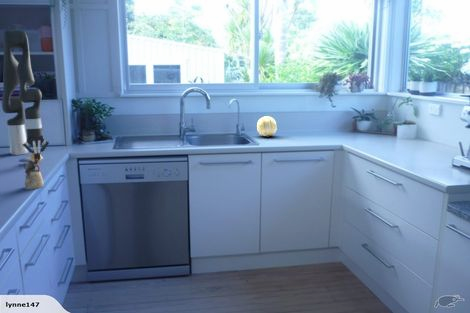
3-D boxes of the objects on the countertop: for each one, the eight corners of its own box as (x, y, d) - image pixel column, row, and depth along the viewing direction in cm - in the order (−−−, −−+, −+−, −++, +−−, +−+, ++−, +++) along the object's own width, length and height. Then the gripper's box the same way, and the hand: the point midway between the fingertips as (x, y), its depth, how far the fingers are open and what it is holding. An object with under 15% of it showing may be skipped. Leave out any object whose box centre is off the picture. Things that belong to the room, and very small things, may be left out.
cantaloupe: (271, 138, 299) (271, 117, 296) (253, 137, 307) (253, 116, 304) (280, 135, 312) (280, 115, 309) (262, 134, 319) (262, 114, 316)
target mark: (15, 159, 233) (15, 159, 233) (36, 156, 243) (36, 155, 243) (27, 162, 227) (27, 162, 226) (48, 158, 236) (48, 158, 236)
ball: (30, 161, 222) (28, 161, 227) (41, 163, 225) (39, 163, 230) (32, 151, 222) (30, 151, 227) (43, 153, 226) (41, 153, 230)
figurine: (29, 184, 183) (26, 157, 180) (46, 184, 183) (43, 157, 181) (22, 189, 176) (19, 161, 173) (39, 189, 176) (36, 161, 174)
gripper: (21, 129, 213) (25, 162, 216) (49, 126, 221) (52, 159, 224) (18, 128, 219) (22, 160, 222) (45, 125, 227) (49, 157, 230)
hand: (37, 160), depth 223 cm, fingers closed
